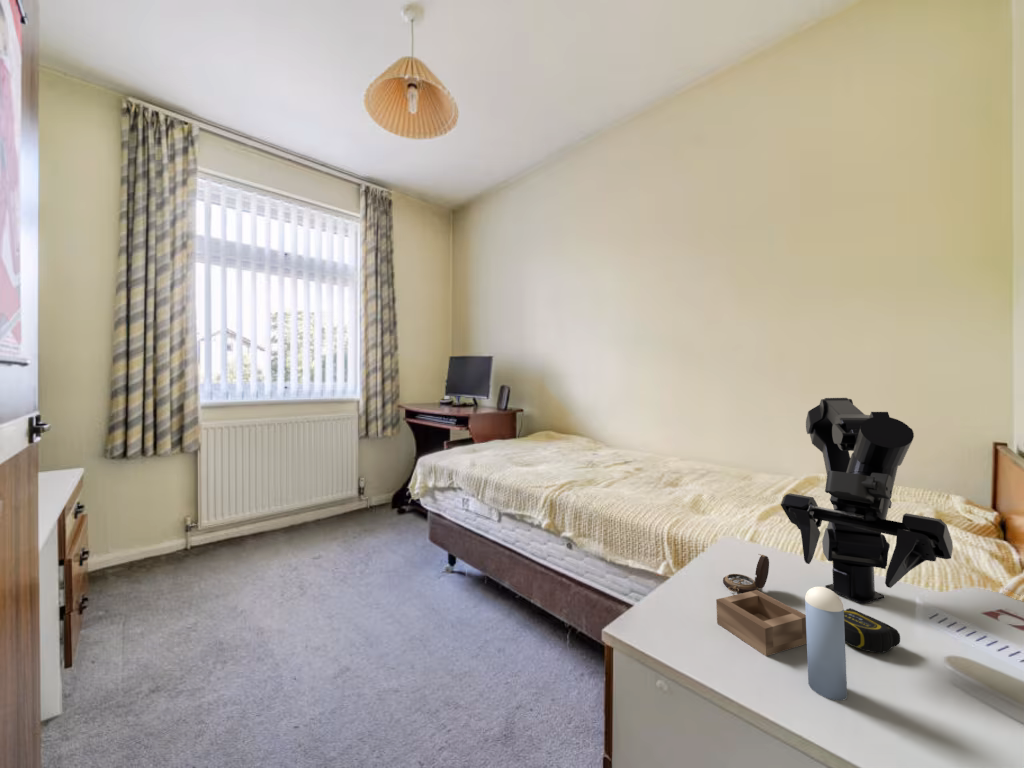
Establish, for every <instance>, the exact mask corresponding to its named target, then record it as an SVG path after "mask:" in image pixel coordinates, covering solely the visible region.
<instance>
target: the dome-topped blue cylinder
mask: <svg viewBox="0 0 1024 768" xmlns="http://www.w3.org/2000/svg"><path fill="white" fill-rule="evenodd" d="M804 603H805V604H804V606H805V615H806V635H807V644H806V652H807V653H806V655H807V682H808V683H807V684H808V686H809V687H810V689H811V690H812V691H813V692H814V693H816V694H817V695H820V696H822V697H823V698H826V699H828V700H831V701H832V700H833V701H844V700H847V698H848V686H847V685H848V684H847V681H848V680H847V678H848V677H847V660H846V659H847V657H846V655H847V654H846V653H847V652H846V642H845V628H844V610H845V608H844V607H845V606H844V603H843V601H842V598H840V596H839V594H837V593H835V592H833V591H832V590H830V589H828V588H825V586H814V587H811V588H809V589H808V590H807V591H806V593H805V596H804Z"/></svg>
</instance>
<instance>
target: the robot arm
mask: <svg viewBox="0 0 1024 768" xmlns="http://www.w3.org/2000/svg"><path fill="white" fill-rule="evenodd" d="M889 414H890V413H889V412H888V411H870V414H865V413H864V412H862V411H861V410H860V409H859V408H858V407H857V406H856V405H855V404H854V403H853V400H852V399H851V398H848V397H824V399H823V398H822V399H821V398H820V402H819V404H818V405H816V406H815V407H813V408H812V409H809V410H808V411H807V414H806V415H807V416H806V419H805V430H806V431H805V432H806V434H807V435H809V437H810V441H811V444H812V445H813V446H814V447H816V448H817V449H818V450H819V451H820V452H821V453H822V456H823V457H822V458H823V461H824V468H825V472H826V483H825V488H824V489H825V490H824V492H825V493H826V494H829V495H830V497H829V501H830V503H831V504H832V506H833V509H832V508H827V507H822V506H818V504H817V502H816V500H815V498H814V497H813V496H809V495H808V496H807V495H802V494H796V493H791V492H790V493H787V494H785V495H784V496H783V498H782V501H781V503H780V507H781V508H782V510H783V511H784V513H785V515H786V516H787V518H788V519H789V522H790V524H791V523H792V524H793V525H794V526H796V527H797V529H798V530H799V531H800V535H801V536H800V537H801V545H802V552H803V560H804V563H805V564H807V565H810V564H811V563H812V561H813V558H814V556H815V552H816V548H817V546H818V543H819V540H820V537H821V531H820V529H819V528H820V527H821V526H822V523H823V522H828V523H827V527H826V528H825V529H824V533H823V537H822V541H821V543H822V552H823V553H822V554H823V555H824V556H825V558H826V560H827V561H828V562H832V570H831V572H832V583H831V584H827V585H825V586H824V587H825V588H828V589H830V590H832V591H833V592H835V593H836V594H837V595H838V596H839V595H840V596H842V597H845V598H847V599H849V600H852V601H854V602H856V603H859V604H862V605H866V604H868V603H872V602H875V601H879V600H882V599H885V594H883V593H880V592H878V591H876V590H875V568H879V569H883V570H886V569H887V570H886V575H885V580H884V581H885V582H884V583H885V586H886V588H889V589H891V588H892V587H893V586H895V585H896V584H897V583H898V582H899V581H900V580H901V579H902V578H903V577H904V576H906V575H907V574H908V573H909V572H910V571H912V570H913V569H915V568H916V567H918V566H919V565H921V564H922V563H924V562H926V561H929V562H936V561H937V558H938V559H943V560H950V559H952V555H953V546H954V545H953V539H952V536H951V533H950V531H949V527H948V526H947V524H946V523H945V522H944V521H943V520H942V519H941V518H936V517H935V518H934V517H929V516H923V515H918V514H912V513H907V512H906V513H904V514H903V515H902V519H901V522H899V521H895V520H890V519H887V516H888V511H889V509H891V508H892V505H893V503H892V499H891V498H892V496H893V495H892V494H893V490H894V489H893V488H894V485H895V481H896V476H897V472H898V468H899V466H901V465H902V464H903V461H904V459H905V457H906V455H907V453H908V451H909V448H910V447H911V445H912V442H913V440H914V437H915V433H914V430H913V428H911V427H910V426H909V425H907V424H906V423H905V422H904V421H902V420H900V419H897V418H894V417H890V415H889ZM851 451H852V453H851V455H850V452H851ZM886 535H890V536H893V537H896V539H895V541H896V542H895V547H894V550H893V553H892V555H891V558H890V561H889V564H888V560H889V559H888V556H889V551H890V547H891V544H890V543H889V542H888V541H887V538H886ZM887 566H888V567H887Z"/></svg>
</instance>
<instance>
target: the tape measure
mask: <svg viewBox="0 0 1024 768" xmlns="http://www.w3.org/2000/svg"><path fill="white" fill-rule="evenodd" d="M844 628H845V643H847V644H849V645H851V646H853V647H854V648H855V647H856V648H857V649H859V650H860V649H861V650H863V651H867V652H872V653H887V652H889V651H891V649H892V648H894V647H897V646H899V645H900V643H901V634H900V632H899V631H898V629H896V628H895V627H894V626H891V625H889V624H887V623H885V622H884V621H881V620H879V619H876V618H874V617H872V616H870V615H868V614H865V613H862V612H860V611H858V610H856V609H853V608H846V610H845V609H844Z"/></svg>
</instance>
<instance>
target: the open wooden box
mask: <svg viewBox="0 0 1024 768" xmlns="http://www.w3.org/2000/svg"><path fill="white" fill-rule="evenodd" d="M716 624H717V625H719V626H720V627H722V628H723V629H724V630H725V631H727V632H729V633H731V634H732V635H734V636H735V637H737V638H739V640H741V641H743V642H745V643H746V644H747V645H749V646H750V647H752V648H753V649H755V650H756V651H757V652H759V653H760V654H762V655H764V656H765V657H768V656H771V655H774V654H778V653H781V652H784V651H787V650H791V649H794V648H798V647H800V646H804V645H807V635H806V613H805V614H804V613H802V612H800V611H799V610H797V609H795V608H793V607H792V606H789V605H788V604H785V603H783V602H781V601H779V600H777V599H775V598H774V597H772V596H770V595H768V594H766V593H764V592H762V591H759V589H758V590H754V591H750V592H746V593H742V592H740V593H738V594H734V595H729V596H724V597H721V598H716Z"/></svg>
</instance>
